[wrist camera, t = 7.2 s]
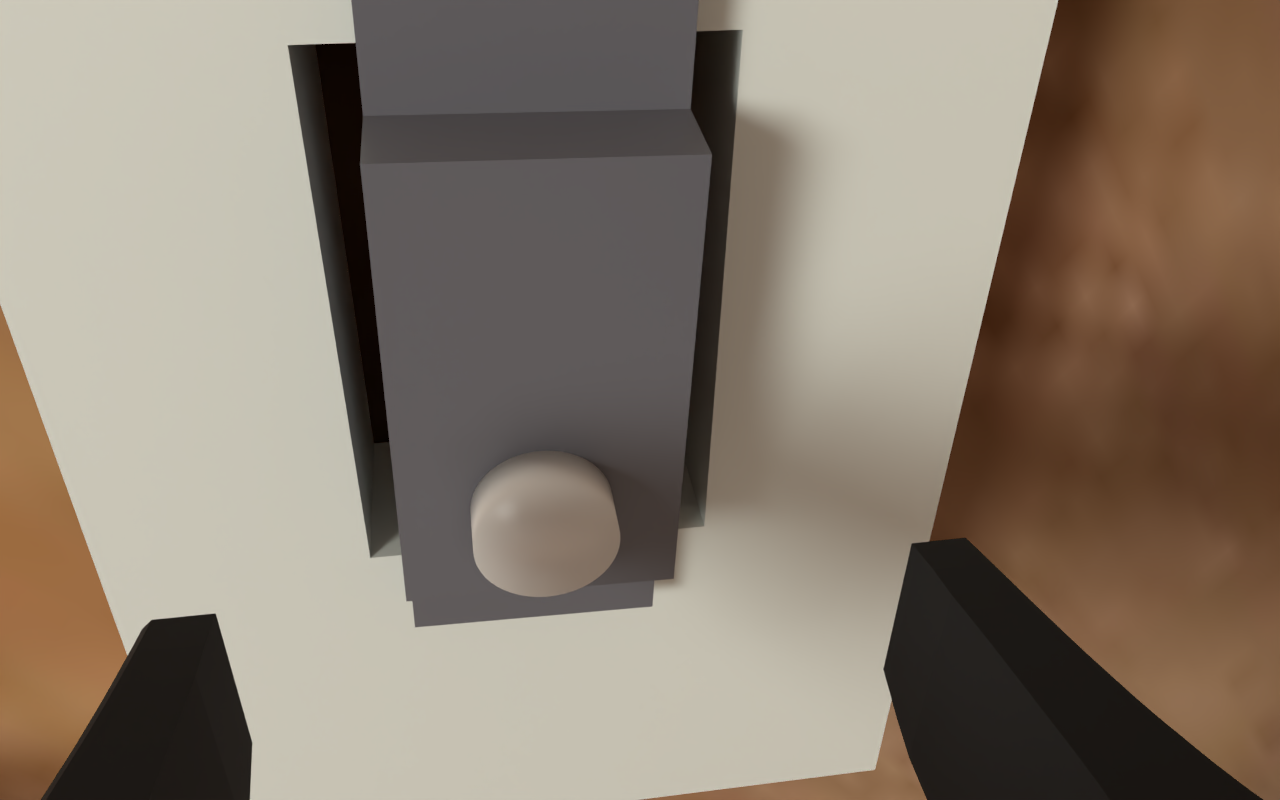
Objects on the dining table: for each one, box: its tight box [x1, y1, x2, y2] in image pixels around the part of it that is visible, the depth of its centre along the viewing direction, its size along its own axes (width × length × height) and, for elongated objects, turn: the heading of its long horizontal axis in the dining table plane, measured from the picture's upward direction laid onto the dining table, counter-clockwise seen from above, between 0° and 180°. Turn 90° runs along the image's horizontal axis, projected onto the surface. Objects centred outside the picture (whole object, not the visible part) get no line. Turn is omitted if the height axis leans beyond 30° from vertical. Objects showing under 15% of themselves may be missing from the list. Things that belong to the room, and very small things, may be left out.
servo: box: [351, 0, 712, 627], centre depth 17 cm, size 11×4×6 cm, turn 178°
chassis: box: [0, 0, 1058, 800], centre depth 19 cm, size 20×14×3 cm
